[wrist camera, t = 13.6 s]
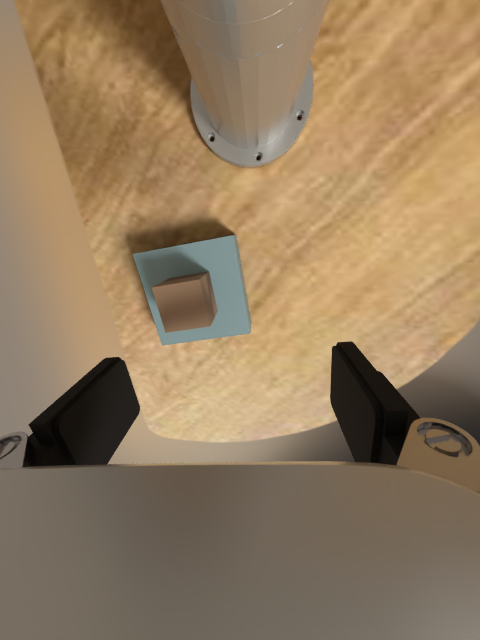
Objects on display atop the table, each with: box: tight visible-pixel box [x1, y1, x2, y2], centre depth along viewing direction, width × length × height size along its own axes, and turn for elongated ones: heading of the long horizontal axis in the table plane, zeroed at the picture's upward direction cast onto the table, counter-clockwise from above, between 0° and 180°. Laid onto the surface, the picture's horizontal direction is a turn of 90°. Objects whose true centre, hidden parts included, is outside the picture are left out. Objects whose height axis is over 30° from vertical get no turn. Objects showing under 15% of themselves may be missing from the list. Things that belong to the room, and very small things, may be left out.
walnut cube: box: [152, 272, 218, 333], centre depth 26 cm, size 5×5×5 cm
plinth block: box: [133, 235, 251, 345], centre depth 31 cm, size 12×12×4 cm
